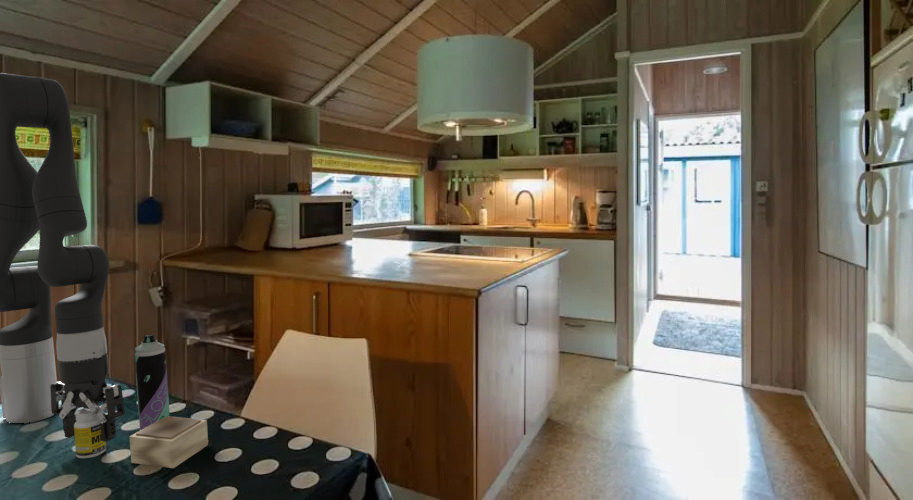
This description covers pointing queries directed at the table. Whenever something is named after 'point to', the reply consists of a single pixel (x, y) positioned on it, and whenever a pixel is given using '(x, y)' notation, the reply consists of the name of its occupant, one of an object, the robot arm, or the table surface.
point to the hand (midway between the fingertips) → (90, 437)
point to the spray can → (151, 381)
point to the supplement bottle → (88, 434)
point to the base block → (168, 441)
